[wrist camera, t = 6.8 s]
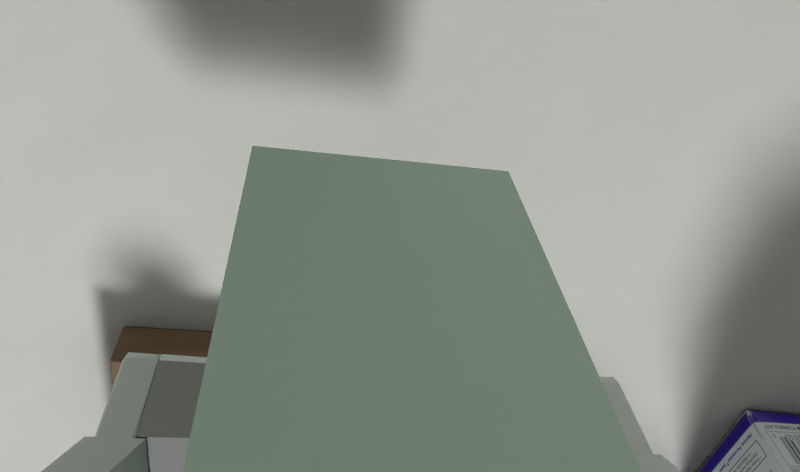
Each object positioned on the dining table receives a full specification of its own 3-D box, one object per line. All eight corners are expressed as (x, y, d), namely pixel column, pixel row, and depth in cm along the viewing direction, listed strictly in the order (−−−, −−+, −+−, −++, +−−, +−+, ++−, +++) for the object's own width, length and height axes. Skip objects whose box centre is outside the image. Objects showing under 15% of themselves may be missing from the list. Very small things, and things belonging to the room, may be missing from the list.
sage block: (252, 145, 12) (135, 695, 5) (508, 171, 13) (732, 677, 6) (245, 339, 15) (163, 875, 8) (456, 351, 16) (564, 847, 9)
